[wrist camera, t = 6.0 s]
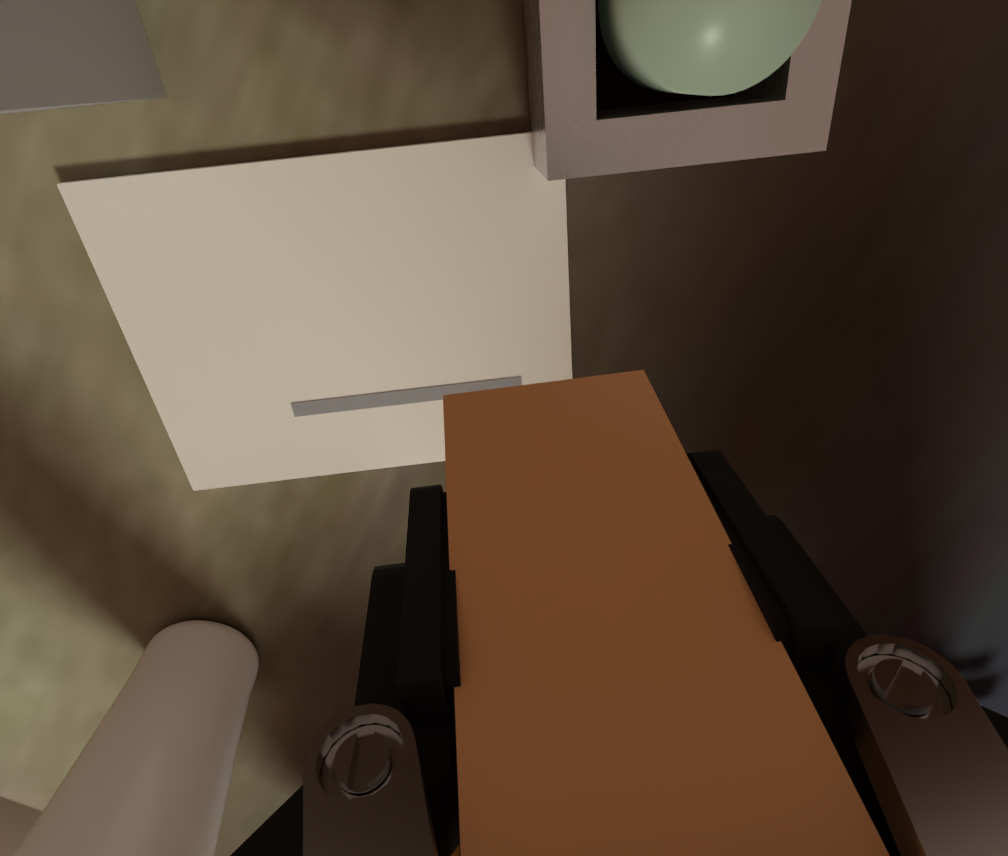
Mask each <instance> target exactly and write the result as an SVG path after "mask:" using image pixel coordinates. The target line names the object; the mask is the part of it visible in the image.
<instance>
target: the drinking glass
mask: <svg viewBox="0 0 1008 856" xmlns="http://www.w3.org/2000/svg"><path fill="white" fill-rule="evenodd" d="M258 668H259V658H258V654H257V651H256V649H255V647H254V645H253V644H252V642H251V641H250V640H249V639H248V638H247V637H246V636H245V635H243V634H242V633H241V632H239V631H238V630H236V629H234V628H232V627H230V626H227V625H225V624H221V623H218V622H213V621H206V620H190V621H183V622H179V623H176V624H173V625H170V626H168V627H166V628H164V629H163V630H161V631H160V632H158V633H157V634H156V635H155V636H154V637H153V638H152V639H151V640H150V642H149V643H148V645H147V646H146V648H145V650H144V652H143V654H142V655H141V657H140V659H139V661H138V663H137V665H136V667H135V669H134V670H133V672H132V674H131V676H130V677H129V679H128V680H127V682H126V683H125V685H124V687H123V688H122V690H121V691H120V693H119V695H118V696H117V698H116V699H115V701H114V702H113V704H112V705H111V707H110V709H109V710H108V712H107V713H106V715H105V716H104V718H103V720H102V721H101V723H100V724H99V726H98V727H97V729H96V730H95V732H94V733H93V735H92V737H91V738H90V740H89V741H88V743H87V744H86V746H85V747H84V749H83V750H82V752H81V754H80V755H79V757H78V758H77V760H76V761H75V763H74V764H73V766H72V767H71V769H70V771H69V772H68V774H67V775H66V777H65V778H64V780H63V781H62V783H61V784H60V786H59V787H58V789H57V790H56V792H55V793H54V795H53V797H52V798H51V800H50V801H49V803H48V804H47V806H46V807H45V809H44V810H43V812H42V813H41V815H40V817H39V818H38V820H37V821H36V823H35V824H34V826H33V827H32V829H31V830H30V832H29V834H28V835H27V837H26V838H25V839H24V841H23V843H22V844H21V846H20V847H19V849H18V850H17V852H16V853H15V855H14V856H214V855H215V850H216V846H217V841H218V837H219V832H220V827H221V823H222V818H223V814H224V809H225V804H226V800H227V795H228V791H229V786H230V782H231V777H232V773H233V768H234V764H235V759H236V755H237V750H238V746H239V742H240V737H241V733H242V728H243V724H244V720H245V715H246V711H247V707H248V703H249V699H250V696H251V692H252V689H253V686H254V683H255V680H256V677H257V673H258Z"/></svg>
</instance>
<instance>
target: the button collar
mask: <svg viewBox="0 0 1008 856" xmlns="http://www.w3.org/2000/svg"><path fill="white" fill-rule="evenodd" d="M851 2H852V0H822V2H821V5H820V7H819V9H818V12H817V14H816V17H815V19H814V21H813V23H812V25H811V27H810V28H809V30H808V32H807V34H806V35H805V37H804V38H803V40H802V41H801V43H800V45H799V46H798V47H797V48H796V50H795V51H794V52H793V53H792V55H791V56H790V57H789V58H788V59H787V60H786V61H785V62H784V63H783V64H782V65H781V66H780V67H779V68H778V69H777V70H776V71H774V72H773V73H772V74H771V75H770V76H768V77H767V78H765V79H764V80H762V81H761V82H759V83H757V84H755V85H753V86H751V87H749V88H747V89H745V90H742V91H739V92H736V93H733V96H729V97H719V98H710V99H701V100H691V101H682V102H673V103H663V104H654V105H645V106H635V107H626V108H617V109H607V110H598V111H596V23H595V0H523V8H524V25H525V41H526V58H527V75H528V91H529V108H530V124H531V132H532V134H533V151H534V167H535V168H536V169H537V170H538V171H539V172H540V173H541V174H542V175H543V176H544V177H545V179H546V180H547V181H553V180H562V179H571V178H580V177H589V176H599V175H608V174H617V173H626V172H635V171H644V170H653V169H662V168H672V167H681V166H690V165H699V164H708V163H717V162H726V161H736V160H745V159H754V158H763V157H772V156H781V155H790V154H799V153H809V152H818V151H826V148H827V142H828V136H829V131H830V125H831V119H832V113H833V107H834V101H835V96H836V90H837V84H838V78H839V72H840V66H841V61H842V55H843V49H844V43H845V37H846V31H847V25H848V20H849V14H850V8H851Z"/></svg>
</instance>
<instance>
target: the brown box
mask: <svg viewBox="0 0 1008 856" xmlns="http://www.w3.org/2000/svg"><path fill="white" fill-rule="evenodd" d="M443 412H444V438H445V464H446V490H447V515H448V541H449V567H450V570H455V573H456V594H457V615H458V636H459V657H460V677H461V687H455V688H454V696H455V722H456V747H457V773H458V799H459V825H460V850H461V856H890V855H889V853H888V851H887V849H886V847H885V845H884V843H883V841H882V839H881V838H880V836H879V834H878V832H877V830H876V828H875V826H874V824H873V822H872V820H871V818H870V816H869V814H868V812H867V810H866V808H865V806H864V804H863V802H862V800H861V798H860V796H859V794H858V792H857V790H856V788H855V786H854V784H853V782H852V780H851V778H850V776H849V774H848V772H847V770H846V768H845V766H844V764H843V763H842V761H841V759H840V757H839V755H838V753H837V751H836V749H835V747H834V745H833V743H832V741H831V739H830V737H829V735H828V733H827V731H826V729H825V727H824V725H823V723H822V721H821V719H820V717H819V715H818V713H817V711H816V709H815V707H814V705H813V703H812V701H811V699H810V697H809V695H808V693H807V691H806V689H805V687H804V686H803V684H802V682H801V680H800V678H799V676H798V674H797V672H796V670H795V668H794V666H793V664H792V662H791V660H790V658H789V656H788V654H787V652H786V650H785V648H784V646H783V644H782V642H781V641H779V642H776V640H775V638H774V636H773V634H772V632H771V630H770V628H769V626H768V624H767V622H766V620H765V618H764V616H763V614H762V612H761V610H760V608H759V606H758V604H757V602H756V600H755V598H754V596H753V594H752V592H751V590H750V588H749V586H748V584H747V582H746V580H745V578H744V576H743V574H742V572H741V570H740V568H739V566H738V564H737V562H736V560H735V558H734V556H733V554H732V552H731V550H730V548H729V546H728V544H732V543H731V541H730V539H729V537H728V535H727V533H726V532H725V530H724V528H723V526H722V524H721V522H720V520H719V518H718V516H717V514H716V512H715V510H714V508H713V506H712V504H711V502H710V500H709V498H708V496H707V494H706V492H705V490H704V488H703V486H702V484H701V482H700V480H699V478H698V476H697V474H696V472H695V470H694V468H693V466H692V464H691V462H690V460H689V458H688V457H687V455H686V453H685V451H684V449H683V447H682V445H681V443H680V441H679V439H678V437H677V435H676V433H675V431H674V429H673V427H672V425H671V423H670V421H669V419H668V417H667V415H666V413H665V411H664V409H663V407H662V405H661V403H660V401H659V399H658V397H657V395H656V393H655V391H654V389H653V387H652V385H651V383H650V381H649V380H648V378H647V376H646V374H645V372H644V370H637V371H630V372H622V373H614V374H606V375H598V376H590V377H583V378H575V379H567V380H559V381H551V382H543V383H535V384H528V385H520V386H512V387H504V388H496V389H488V390H481V391H473V392H465V393H457V394H449V395H443Z"/></svg>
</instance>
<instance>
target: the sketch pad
mask: <svg viewBox="0 0 1008 856" xmlns="http://www.w3.org/2000/svg"><path fill="white" fill-rule="evenodd" d="M57 186H58V188H59V190H60V193H61V195H62V197H63V199H64V202H65V204H66V206H67V208H68V210H69V213H70V215H71V217H72V219H73V222H74V224H75V226H76V228H77V231H78V233H79V235H80V237H81V240H82V242H83V244H84V246H85V249H86V251H87V253H88V255H89V258H90V260H91V262H92V264H93V267H94V269H95V271H96V273H97V276H98V278H99V280H100V282H101V284H102V287H103V289H104V291H105V293H106V296H107V298H108V300H109V302H110V305H111V307H112V309H113V311H114V314H115V316H116V318H117V320H118V323H119V325H120V327H121V329H122V332H123V334H124V336H125V338H126V341H127V343H128V345H129V347H130V349H131V352H132V354H133V356H134V358H135V361H136V363H137V365H138V367H139V370H140V372H141V374H142V376H143V379H144V381H145V383H146V385H147V388H148V390H149V392H150V394H151V397H152V399H153V401H154V403H155V406H156V408H157V410H158V412H159V415H160V417H161V419H162V421H163V423H164V426H165V428H166V430H167V432H168V435H169V437H170V439H171V441H172V444H173V446H174V448H175V450H176V453H177V455H178V457H179V459H180V462H181V464H182V466H183V468H184V471H185V473H186V475H187V477H188V480H189V482H190V484H191V486H192V489H193V491H195V490H204V489H212V488H221V487H229V486H237V485H246V484H254V483H262V482H271V481H279V480H288V479H296V478H304V477H313V476H321V475H330V474H338V473H346V472H355V471H363V470H372V469H380V468H388V467H397V466H405V465H414V464H422V463H430V462H439V461H445V438H444V412H443V395H449V394H457V393H465V392H473V391H481V390H488V389H496V388H504V387H512V386H520V385H528V384H535V383H543V382H551V381H559V380H567V379H572V357H571V329H570V300H569V271H568V242H567V214H566V185H565V179H562V180H553V181H547V180H546V179H545V177H544V176H543V175H542V174H541V173H540V172H539V171H538V170H537V169H536V168H535V167H534V151H533V134H532V132H523V133H513V134H504V135H495V136H485V137H476V138H467V139H458V140H448V141H439V142H430V143H420V144H411V145H402V146H392V147H383V148H374V149H365V150H355V151H346V152H337V153H327V154H318V155H309V156H300V157H290V158H281V159H272V160H262V161H253V162H244V163H235V164H225V165H216V166H207V167H197V168H188V169H179V170H170V171H160V172H151V173H142V174H132V175H123V176H114V177H105V178H95V179H86V180H77V181H67V182H62V183H58V184H57Z"/></svg>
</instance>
